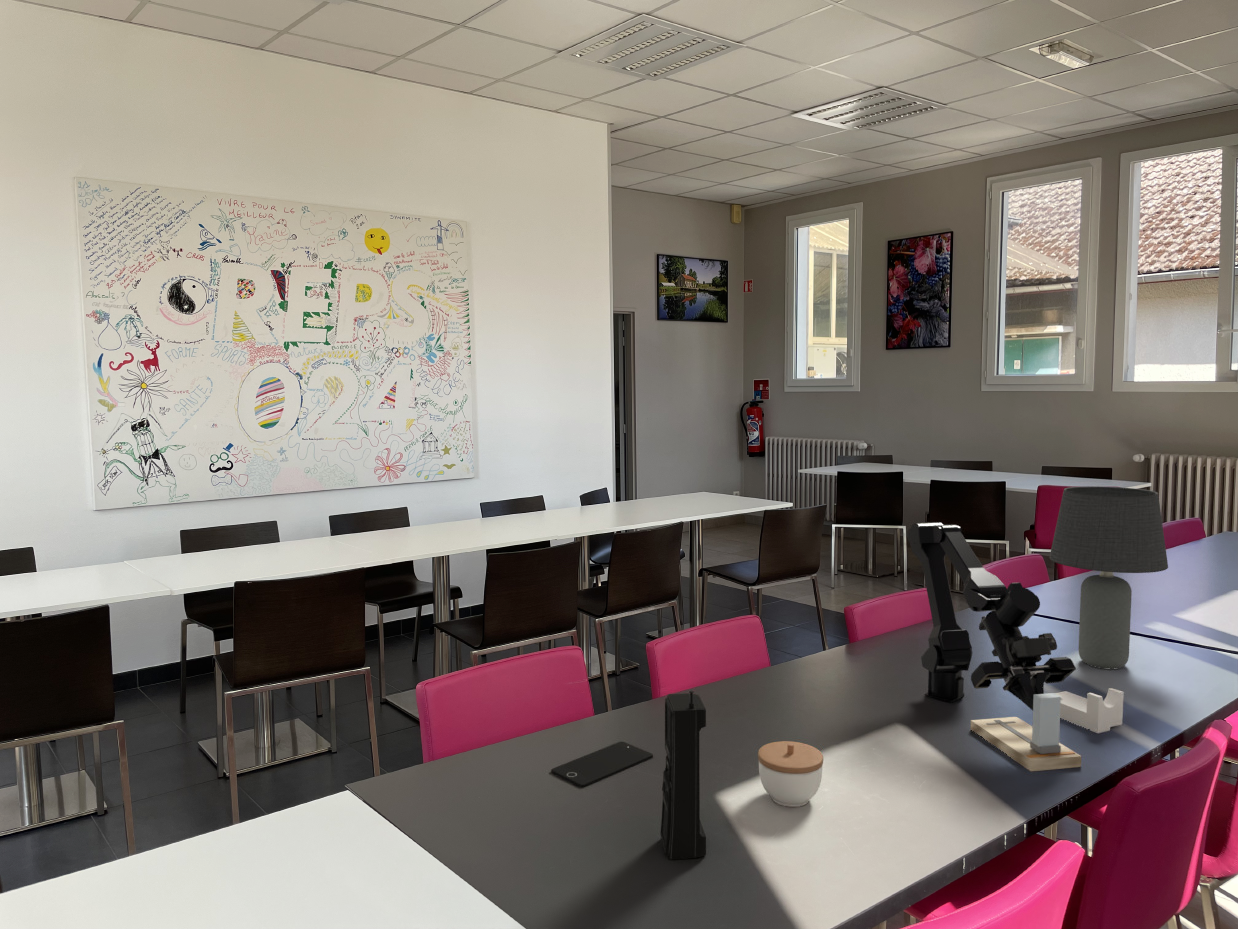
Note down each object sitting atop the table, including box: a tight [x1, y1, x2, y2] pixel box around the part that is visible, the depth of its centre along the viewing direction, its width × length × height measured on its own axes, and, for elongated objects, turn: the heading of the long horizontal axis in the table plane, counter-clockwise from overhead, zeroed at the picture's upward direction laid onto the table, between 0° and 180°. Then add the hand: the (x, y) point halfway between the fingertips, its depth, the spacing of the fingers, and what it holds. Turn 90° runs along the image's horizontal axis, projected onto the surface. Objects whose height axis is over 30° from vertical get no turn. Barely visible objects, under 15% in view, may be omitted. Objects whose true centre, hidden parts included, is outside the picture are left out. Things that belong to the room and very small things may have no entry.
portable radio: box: [660, 690, 707, 860], centre depth 129 cm, size 8×6×25 cm
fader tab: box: [1030, 692, 1061, 754], centre depth 157 cm, size 3×4×10 cm
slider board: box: [970, 716, 1082, 772], centre depth 163 cm, size 19×10×2 cm, turn 9°
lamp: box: [1049, 485, 1169, 670], centre depth 210 cm, size 25×25×43 cm
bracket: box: [1053, 687, 1125, 734], centre depth 177 cm, size 13×7×8 cm, turn 24°
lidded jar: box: [757, 740, 824, 808], centre depth 144 cm, size 11×11×9 cm
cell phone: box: [550, 741, 654, 789], centre depth 158 cm, size 9×18×1 cm, turn 134°
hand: (1042, 715), depth 158 cm, fingers closed, pressing on fader tab
